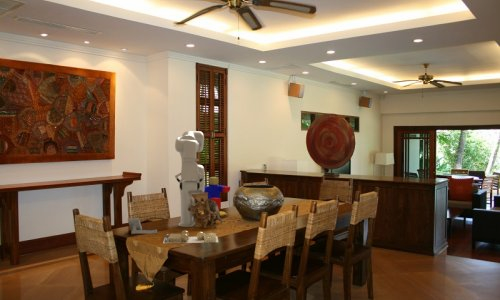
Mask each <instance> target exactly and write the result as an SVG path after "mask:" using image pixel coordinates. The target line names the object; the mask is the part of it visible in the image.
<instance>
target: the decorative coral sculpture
mask: <svg viewBox="0 0 500 300" xmlns="http://www.w3.org/2000/svg"><path fill="white" fill-rule="evenodd" d="M209 200H210V199H208V198H207V199H205V200H204V197H200V200H197V198H194V206H191V207H192V208H193V209H191V208H190V207H189V208H188V211H192V216H194V218H193V219H194V222H195V224H194V226H193V228H197V226H200V227H202V224H201V222H204V224H203V228H204V229H205V228H206V227H207V225H208V223H210V225H209V227H211V228H212V227H213V228H214V229H216V228H217V225H215V224H214V223H216V221H219V222H220V224H223V223H224V219H222V218H221V217H220V212H219V209H218V206H217V204H216V202H215V201H213V200H210V201H209ZM199 207H202V210H203V211H202V212H204V214H202V215H200V213H199ZM199 220H200V222H199Z"/></svg>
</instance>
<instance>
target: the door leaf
mask: <svg viewBox="0 0 500 300" xmlns="http://www.w3.org/2000/svg"><path fill="white" fill-rule="evenodd" d="M216 236H217V235H216V232H203V231H198V232H197V233H196V237H197V239H198V240H202V239H203V238H204V243H217V242H216Z"/></svg>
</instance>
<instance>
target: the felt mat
mask: <svg viewBox="0 0 500 300" xmlns="http://www.w3.org/2000/svg"><path fill="white" fill-rule="evenodd" d="M165 239H166V236H165V237H164V238H163V241H162V243H163V244H170V243H169V237H168V239H167V242H166V243H165ZM189 243H190V244H192V243H193V244H194V243H195V244H197V243H205V242H204V238H203V239H202V240H198V239H197V236H189V239H188V241H187V242H182V241H181V242H173V243H172V244H189ZM215 243H219V238H218V236H217V235H216V242H215Z"/></svg>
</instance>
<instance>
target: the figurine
mask: <svg viewBox="0 0 500 300" xmlns="http://www.w3.org/2000/svg"><path fill="white" fill-rule="evenodd" d="M208 182H209V183H208V184H209V185H205V190H204V193H206V194H207V199H210V200H213V201H215V202H216V204H217V206H218V209H219V212H220V216H221V217H225V216H224V215H226V216H228V213H227V212H225V211H222V210H221V211H220V209H221V207H222V198H221V195H220V194H221V193H229V192H230V190H231V186H226V185H221V184H220V185H219V177H218V176H217V177H216V176H211V177H209V179H208ZM210 200H209V201H210ZM199 214H200V215H202V214H204V212H203V211H202V212H200V213H199Z"/></svg>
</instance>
